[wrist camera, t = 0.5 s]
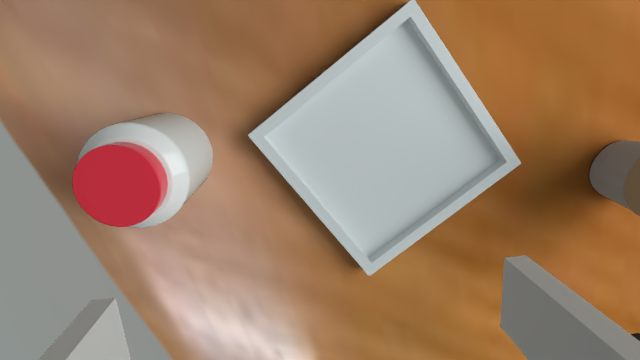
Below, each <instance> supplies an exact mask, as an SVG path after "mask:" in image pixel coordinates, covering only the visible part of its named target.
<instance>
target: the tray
mask: <svg viewBox="0 0 640 360" xmlns="http://www.w3.org/2000/svg"><path fill="white" fill-rule="evenodd" d="M248 136H249V137H250V139H251V140H252V141H253V142H254V143H255V144H256V146H257V147H258V148H259V149H260V150H261V151H262V153H263V154H264V155H265V156H266V157H267V158H268V159H269V161H270V162H271V163H272V164H273V165H274V166H275V168H276V169H277V170H278V171H279V172H280V173H281V175H282V176H283V177H284V178H285V179H286V180H287V182H288V183H289V184H290V185H291V186H292V187H293V188H294V190H295V191H296V192H297V193H298V194H299V195H300V197H301V198H302V199H303V200H304V201H305V202H306V204H307V205H308V206H309V207H310V208H311V209H312V211H313V212H314V213H315V214H316V215H317V216H318V217H319V219H320V220H321V221H322V222H323V223H324V224H325V226H326V227H327V228H328V229H329V230H330V231H331V233H332V234H333V235H334V236H335V237H336V238H337V240H338V241H339V242H340V243H341V244H342V245H343V246H344V248H345V249H346V250H347V251H348V252H349V253H350V255H351V256H352V257H353V258H354V259H355V260H356V262H357V263H358V264H359V265H360V266H361V267H362V269H363V270H364V271H365V272H366V273H367V274H368V275H369V276H370V275H372V274H373V273H374V272H376V271H377V270H378V269H380V268H381V267H382V266H384V265H385V264H386V263H388V262H389V261H391V260H392V259H393V258H395V257H396V256H397V255H399V254H400V253H401V252H403V251H404V250H405V249H407V248H408V247H409V246H411V245H412V244H413V243H415V242H416V241H417V240H419V239H420V238H421V237H423V236H424V235H426V234H427V233H428V232H430V231H431V230H432V229H434V228H435V227H436V226H438V225H439V224H440V223H442V222H443V221H444V220H446V219H447V218H448V217H450V216H451V215H452V214H454V213H455V212H457V211H458V210H459V209H461V208H462V207H463V206H465V205H466V204H467V203H469V202H470V201H471V200H473V199H474V198H475V197H477V196H478V195H479V194H481V193H482V192H483V191H485V190H486V189H488V188H489V187H490V186H492V185H493V184H494V183H496V182H497V181H498V180H500V179H501V178H502V177H504V176H505V175H506V174H508V173H509V172H510V171H512V170H513V169H514V168H516V167H517V166H519V165H520V164H521V162H520V160H519V159H518V157H517V156H516V154H515V153H514V151H513V149H512V148H511V146H510V145H509V143H508V142H507V140H506V139H505V137H504V136H503V134H502V133H501V131H500V130H499V128H498V127H497V125H496V123H495V122H494V120H493V119H492V117H491V116H490V114H489V113H488V111H487V110H486V108H485V107H484V105H483V104H482V102H481V101H480V99H479V97H478V96H477V94H476V93H475V91H474V90H473V88H472V87H471V85H470V84H469V82H468V81H467V79H466V78H465V76H464V75H463V73H462V71H461V70H460V68H459V67H458V65H457V64H456V62H455V61H454V59H453V58H452V56H451V55H450V53H449V52H448V50H447V49H446V47H445V45H444V44H443V42H442V41H441V39H440V38H439V36H438V35H437V33H436V32H435V30H434V29H433V27H432V26H431V24H430V23H429V21H428V19H427V18H426V16H425V15H424V13H423V12H422V10H421V9H420V7H419V6H418V4H417V3H416V1H415V0H410V1H409V2H407V3H406V4H405V5H404V6H402V7H401V8H400V9H399V10H398V11H396V12H395V13H394V14H393V15H392V16H390V17H389V18H388V19H387V20H386V21H384V22H383V23H382V24H381V25H380V26H378V27H377V28H376V29H375V30H373V31H372V32H371V33H370V34H369V35H367V36H366V37H365V38H364V39H363V40H361V41H360V42H359V43H358V44H357V45H355V46H354V47H353V48H352V49H351V50H349V51H348V52H347V53H346V54H345V55H343V56H342V57H341V58H340V59H338V60H337V61H336V62H335V63H334V64H332V65H331V66H330V67H329V68H328V69H326V70H325V71H324V72H323V73H322V74H320V75H319V76H318V77H317V78H316V79H314V80H313V81H312V82H311V83H309V84H308V85H307V86H306V87H305V88H303V89H302V90H301V91H300V92H299V93H297V94H296V95H295V96H294V97H293V98H291V99H290V100H289V101H288V102H287V103H285V104H284V105H283V106H282V107H281V108H279V109H278V110H277V111H276V112H274V113H273V114H272V115H271V116H270V117H268V118H267V119H266V120H265V121H264V122H262V123H261V124H260V125H259V126H258V127H256V128H255V129H254V130H253V131H252V132H250V133H249V135H248Z"/></svg>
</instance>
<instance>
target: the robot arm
mask: <svg viewBox="0 0 640 360" xmlns="http://www.w3.org/2000/svg"><path fill="white" fill-rule="evenodd" d="M500 327H501V328H502V329H503V330H504V331H505V333H506V334H507V335H508V336H509V337H510V338H511V340H512V341H513V342H514V343H515V344H516V346H517V347H518V348H519V349H520V350H521V352H522V353H523V354H524V355H525V356H526V357H527V359H528V360H640V334H639V333H636V334H629V333H628V332H627V331H625V330H624V329H623V328H621V327H620V326H619V325H617V324H616V323H615V322H613V321H612V320H611V319H610V318H608V317H607V316H606V315H604V314H603V313H602V312H600V311H599V310H598V309H596V308H595V307H594V306H592V305H591V304H590V303H588V302H587V301H586V300H584V299H583V298H582V297H580V296H579V295H578V294H576V293H575V292H574V291H572V290H571V289H570V288H568V287H567V286H566V285H564V284H563V283H562V282H560V281H559V280H558V279H557V278H555V277H554V276H553V275H551V274H550V273H549V272H547V271H546V270H545V269H543V268H542V267H541V266H539V265H538V264H537V263H535V262H534V261H533V260H531V259H530V258H529V257H527V256H516V257H507V258H505V259H504V275H503V291H502V306H501V322H500ZM38 360H131V359H130V355H129V350H128V346H127V342H126V339H125V335H124V330H123V327H122V322H121V318H120V314H119V310H118V306H117V302H116V299H115V298H109V299H100V300H91V301H90V303H89V304H88V305H87V306H86V307H85V308H84V309H83V311H81V313H80V314H79V315H78V316H77V317H76V318H75V319H74V320H73V322H72V323H71V324H70V325H69V326H68V327H67V328H66V329H65V330H64V331H63V333H62V334H61V335H60V336H59V337H58V338H57V339H56V340H55V342H54V343H53V344H52V345H51V346H50V347H49V348H48V349H47V350H46V351H45V352H44V354H43V355H42V356H41V357H40V358H39V359H38Z"/></svg>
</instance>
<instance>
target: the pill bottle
mask: <svg viewBox="0 0 640 360" xmlns="http://www.w3.org/2000/svg"><path fill="white" fill-rule="evenodd" d="M212 165H213V150H212V147H211V143H210V141H209V139H208V137H207V135H206V134H205V132H204V131H203V130H202V129H201V128H200V127H199V126H198V125H197V124H196V123H195V122H193V121H192V120H190V119H188V118H187V117H184V116H181V115H178V114H173V113H160V114H155V115H151V116H147V117H142V118H138V119H134V120H129V121H125V122H121V123H117V124H112V125H109V126H107V127H105V128H103V129H100V130H99V131H98V132H96V133H95V134H94V135H92V136H91V137H90V138H89V140H88V141H87V142H86V143H85V144H84V146H83V148H82V150H81V152H80V154H79V158H78V161H77V165H76V167H75V169H74V173H73V178H72V185H73V191H74V194H75V197H76V199H77V201H78V203H79V204H80V206H81V207H82V208H83V210H84V211H85V212H86V213H87V214H88V215H90V216H91V217H92V218H94V219H95V220H97V221H99V222H101V223H104V224H107V225H110V226H116V227H132V228H146V227H150V226H155V225H158V224H160V223H162V222H165V221H167V220H168V219H169V218H171V217H172V216H174V215H175V214H176V213H177V212H178V211H179V209H180V208H181V207H182V206H183V205H184V204H185V203H186V202H187V201H188V200H189V198H190V197H191V196H192V195H193V194H194V193H195V192H196V191H197V190H198V188H199V187H200V186H201V185H202V184H203V183H204V182H205V181H206V179H207V177H208V176H209V174H210V172H211V169H212Z"/></svg>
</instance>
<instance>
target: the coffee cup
mask: <svg viewBox="0 0 640 360" xmlns="http://www.w3.org/2000/svg"><path fill="white" fill-rule="evenodd" d="M589 176H590V182H591V184H592V186H593V187H594V189H595V190H596V191H597V192H598V193H600V194H601V195H603V196H605V197H607V198H609V199H611V200H612V201H614V202H616V203H618V204H620V205H622V206H624V207H626V208H628V209H630V210H632V211H633V212H634V213H635V214H637V215H639V216H640V142H638V141H618V142H615V143H612V144H610V145H608V146H607V147H606V148H604V149H603V150H602V151H601V152H600V153H599V154H598V155H597V157H596V158H595V160H594V161H593V163H592V166H591V169H590V174H589Z"/></svg>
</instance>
